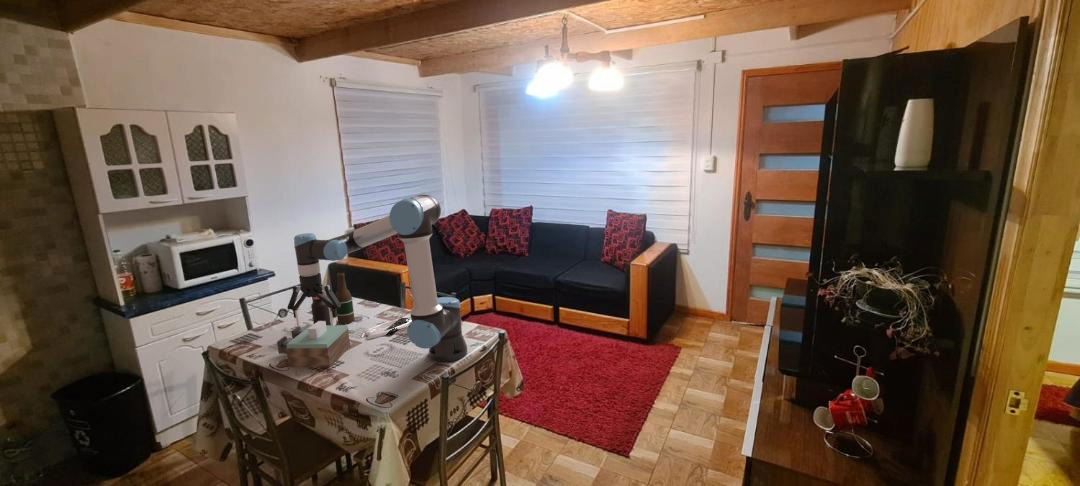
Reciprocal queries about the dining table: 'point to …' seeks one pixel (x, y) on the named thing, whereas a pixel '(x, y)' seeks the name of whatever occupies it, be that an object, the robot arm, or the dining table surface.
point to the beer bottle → (344, 301)
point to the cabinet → (314, 352)
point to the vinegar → (320, 311)
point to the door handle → (375, 335)
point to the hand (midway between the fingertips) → (317, 325)
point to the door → (316, 336)
